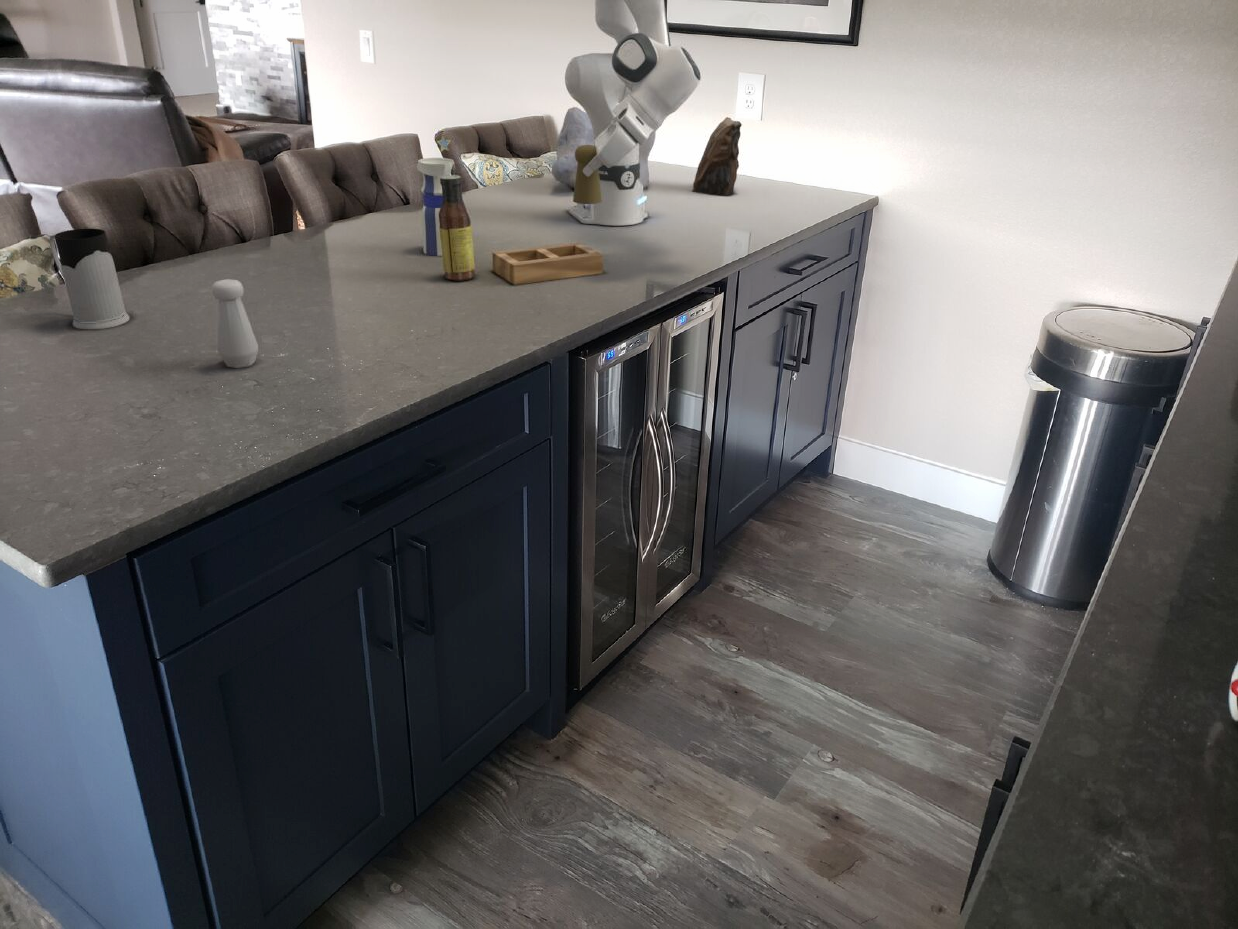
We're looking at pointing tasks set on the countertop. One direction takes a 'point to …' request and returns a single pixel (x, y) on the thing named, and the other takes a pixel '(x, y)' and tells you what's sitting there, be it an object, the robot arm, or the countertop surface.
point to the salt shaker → (234, 326)
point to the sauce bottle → (455, 231)
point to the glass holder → (89, 278)
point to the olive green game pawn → (586, 178)
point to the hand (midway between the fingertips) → (584, 171)
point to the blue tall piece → (433, 197)
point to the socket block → (547, 263)
